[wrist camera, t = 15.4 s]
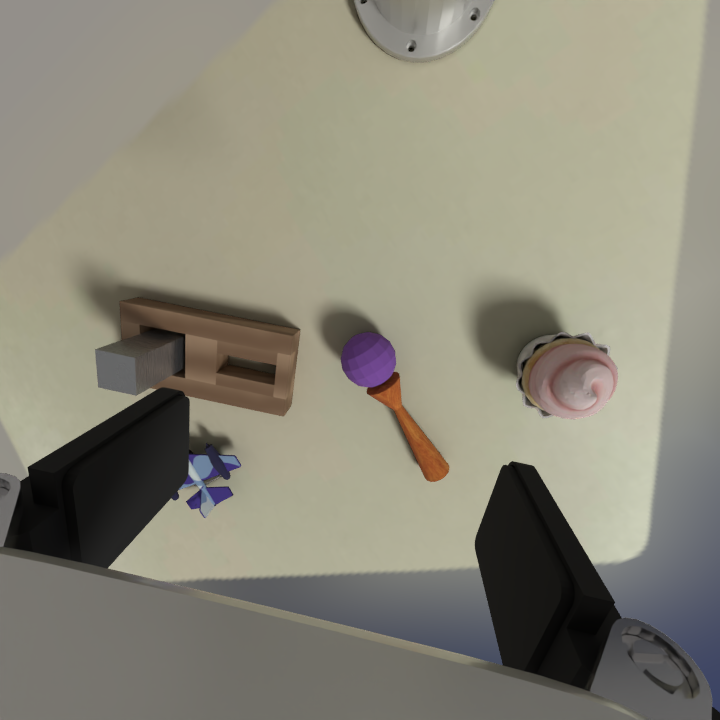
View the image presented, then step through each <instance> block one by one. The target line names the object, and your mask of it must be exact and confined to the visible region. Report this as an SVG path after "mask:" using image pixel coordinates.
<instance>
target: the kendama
mask: <svg viewBox="0 0 720 720" xmlns="http://www.w3.org/2000/svg"><path fill="white" fill-rule="evenodd" d="M341 363H342V369H343V371H344V372H345V374H346V376H347V377H348V378H349V379H350V380H351V381H352V382H354V383H355V384H357V385H358V386H363V387H368V389H367V394H368V395H370V396H372V397H373V398H375V399H377V400H378V401H380V402H381V403H383V404H385V405H386V406H388V407H390V408H391V409H393V410H394V412H395V414H396V416H397V418H398V420H399V423H400V425H401V427H402V429H403V431H404V433H405V436H406V438H407V440H408V442H409V444H410V446H411V449H412V451H413V453H414V455H415V457H416V459H417V462H418V464H419V466H420V468H421V470H422V472H423V475H424V477H425V478H426V480H427V481H430V482H435V481H438V480H441V479H442V478H444V477H445V476H446V475H447V473H448V471H449V465H448V463H447V462H446V461H445V460H444V458H443V457H442V456H441V454H440V453H439V452H438V451H437V449H436V448H435V447H434V446H433V444H432V443H431V442H430V440H429V439H428V438H427V437H426V435H425V434H424V433H423V431H422V430H421V429H420V428H419V426H418V425H417V424H416V423H415V421H414V420H413V419H412V417H411V416H410V415H409V414H408V412H407V411H406V410H405V408H404V407H403V406H402V402H401V389H400V376H399V373H397V372H393V371H394V368H395V365H396V358H395V350H394V348H393V347H392V345H391V343H390V341H388V340H387V339H386V338H384V337H383V336H382V335H380V334H376V333H371V332H365V333H361V334H357V335H355V336H353V337H352V338H351V339H350V340H349V341H348V342H347V344H346V345H345V346H344V348H343V352H342V356H341Z"/></svg>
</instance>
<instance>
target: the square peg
mask: <svg viewBox="0 0 720 720" xmlns="http://www.w3.org/2000/svg"><path fill="white" fill-rule="evenodd" d="M185 338H186V334H183V333H178V332H173V331H168V330H164V329H159V328H156V329H153V330H150V331H147V332H144V333H141V334H138V335H135V336H133V337H130V338H127V339H124V340H121V341H118V342H115V343H112V344H109V345H107V346H104V347H101V348H98V349H95V353H96V365H97V377H98V387H100V388H104V389H109V390H113V391H118V392H122V393H127V394H132V395H136V396H137V395H138V394H140V393H142V392H144V391H145V390H147V389H149V388H150V387H152V386H154V385H156V384H157V383H159V382H161V381H163V380H164V379H166V378H168V377H170V376H171V375H173V374H175V373H177V372H178V371H180V370H182V369H184V368H185Z"/></svg>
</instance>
